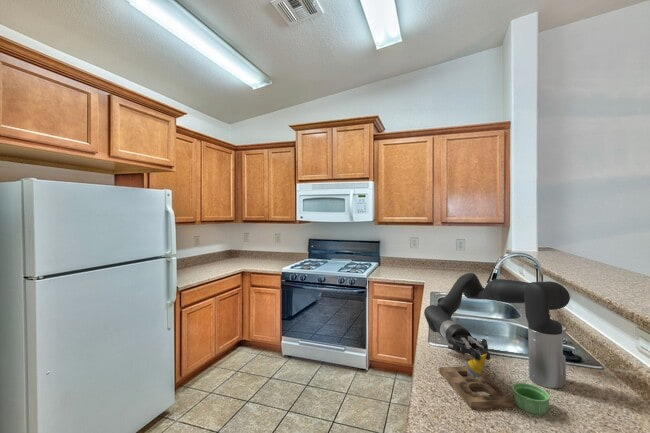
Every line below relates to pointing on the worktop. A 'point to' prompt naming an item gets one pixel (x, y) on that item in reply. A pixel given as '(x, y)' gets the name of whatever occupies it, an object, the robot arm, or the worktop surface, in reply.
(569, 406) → the worktop surface
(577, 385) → the worktop surface
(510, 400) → the socket board
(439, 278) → the worktop surface
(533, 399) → the ramekin
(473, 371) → the drill bit
